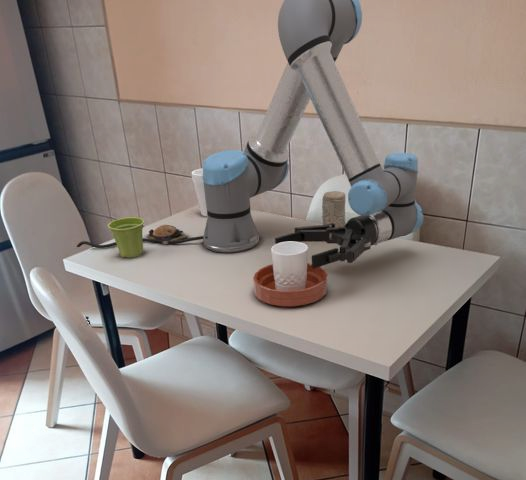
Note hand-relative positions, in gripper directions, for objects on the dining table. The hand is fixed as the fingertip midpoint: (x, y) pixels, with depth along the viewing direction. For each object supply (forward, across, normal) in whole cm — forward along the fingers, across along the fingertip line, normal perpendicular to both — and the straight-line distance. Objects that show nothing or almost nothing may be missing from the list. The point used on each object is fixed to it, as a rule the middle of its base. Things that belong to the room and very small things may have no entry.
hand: (293, 252), depth 125 cm
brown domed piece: (+7, +52, -9) cm, 53 cm away
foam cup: (-13, +63, -9) cm, 65 cm away
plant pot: (+20, +46, -9) cm, 52 cm away
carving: (-28, +21, -9) cm, 36 cm away
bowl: (+1, 0, -9) cm, 9 cm away
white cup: (+1, 0, -9) cm, 9 cm away
